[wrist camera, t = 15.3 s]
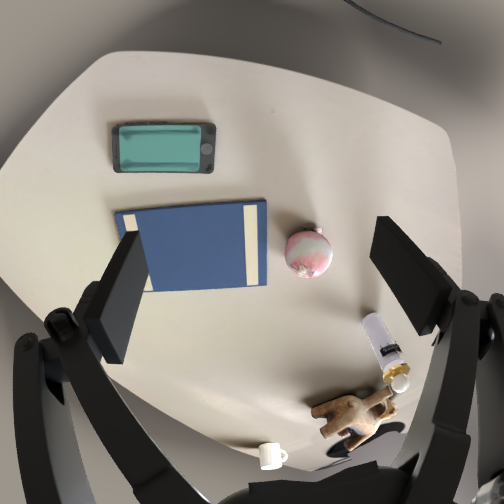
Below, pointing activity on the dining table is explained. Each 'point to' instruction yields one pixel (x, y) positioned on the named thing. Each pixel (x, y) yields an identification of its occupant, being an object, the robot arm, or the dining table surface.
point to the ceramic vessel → (355, 416)
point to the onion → (308, 253)
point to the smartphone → (163, 147)
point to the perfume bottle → (386, 352)
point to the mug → (271, 456)
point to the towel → (201, 244)
